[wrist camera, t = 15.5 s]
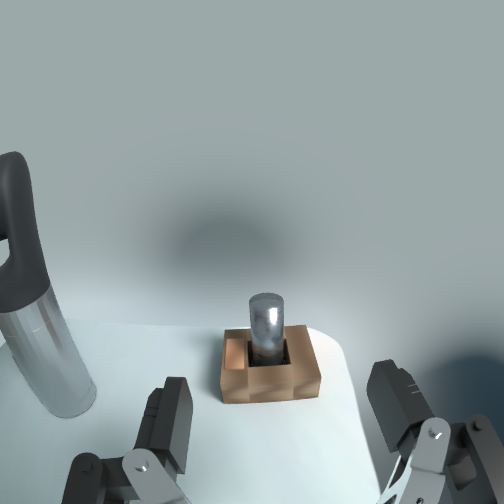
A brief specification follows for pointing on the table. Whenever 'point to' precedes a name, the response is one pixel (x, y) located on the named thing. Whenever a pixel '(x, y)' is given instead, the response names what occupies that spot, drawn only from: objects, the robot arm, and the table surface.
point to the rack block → (269, 369)
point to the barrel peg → (267, 329)
